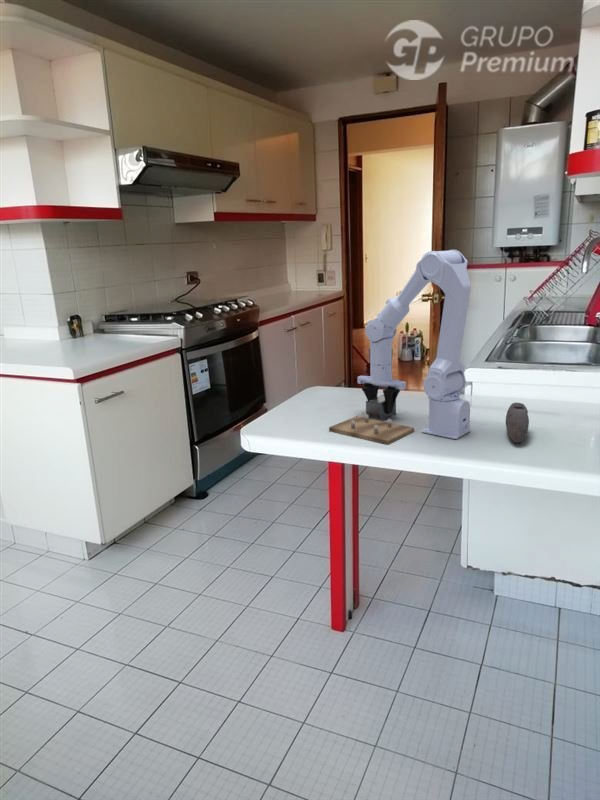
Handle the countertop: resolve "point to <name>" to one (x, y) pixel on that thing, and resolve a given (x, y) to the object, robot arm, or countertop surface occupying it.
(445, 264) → the robot arm
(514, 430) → the perforated stone tool
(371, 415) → the block
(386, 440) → the pin tray
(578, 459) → the countertop surface
